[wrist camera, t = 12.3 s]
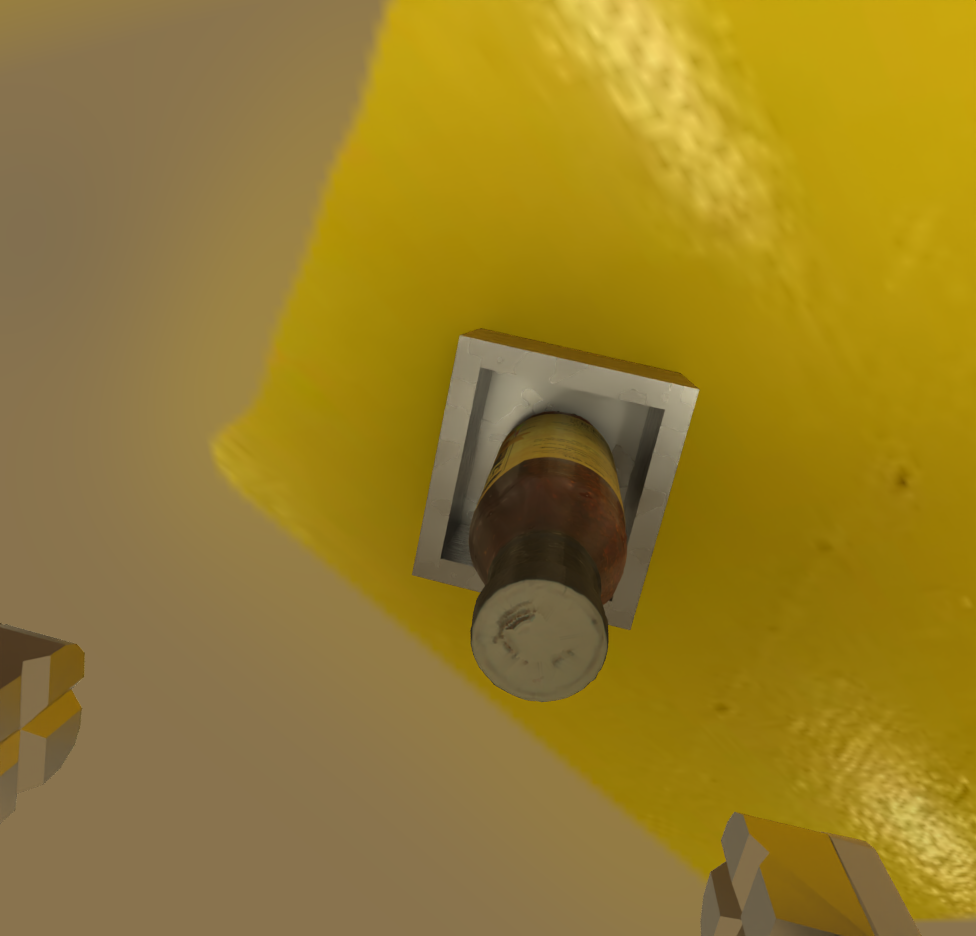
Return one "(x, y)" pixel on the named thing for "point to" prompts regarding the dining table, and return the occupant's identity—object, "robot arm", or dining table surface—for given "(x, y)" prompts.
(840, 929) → the robot arm
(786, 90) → the dining table surface
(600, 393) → the condiment sleeve
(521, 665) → the sauce bottle
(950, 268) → the dining table surface
